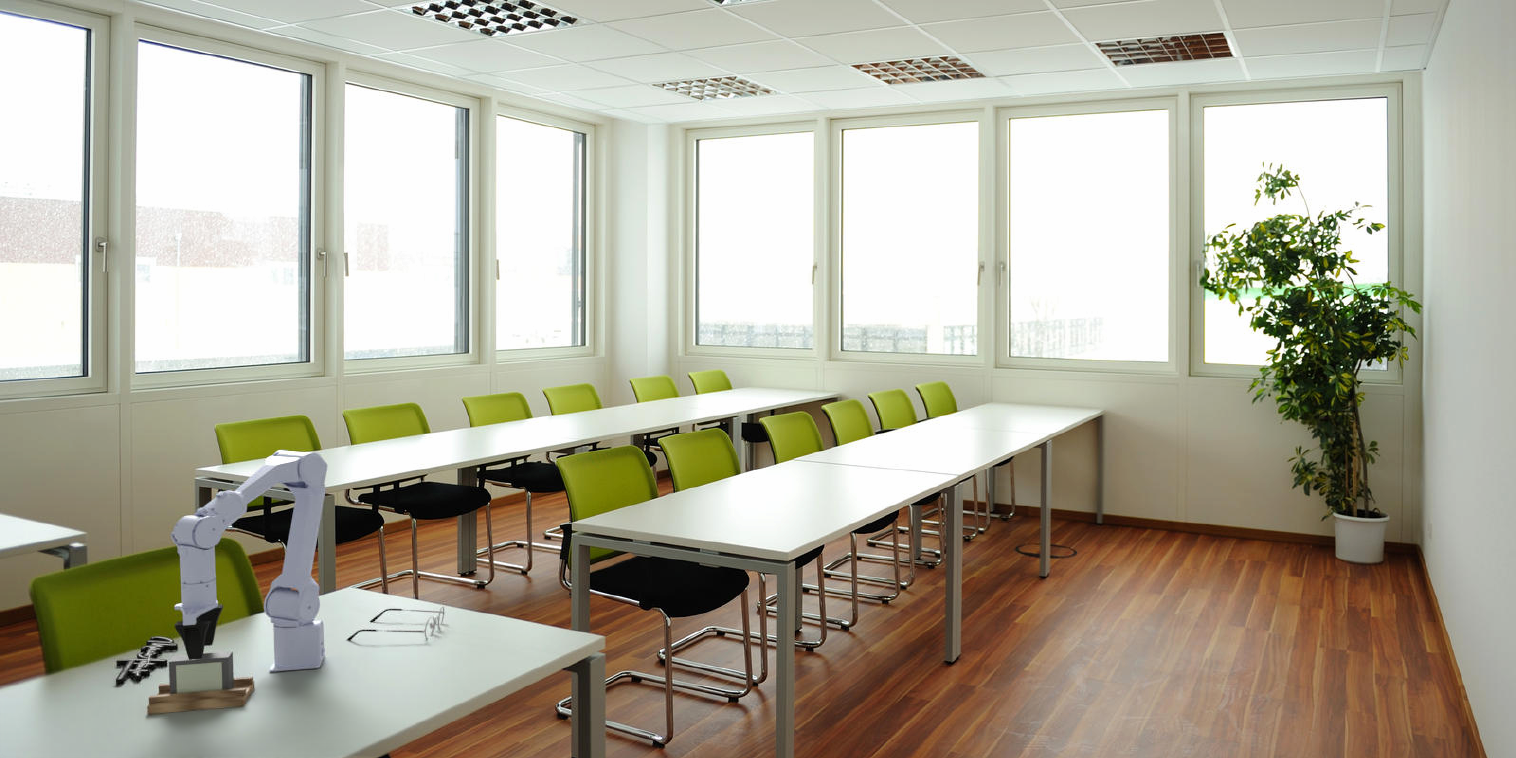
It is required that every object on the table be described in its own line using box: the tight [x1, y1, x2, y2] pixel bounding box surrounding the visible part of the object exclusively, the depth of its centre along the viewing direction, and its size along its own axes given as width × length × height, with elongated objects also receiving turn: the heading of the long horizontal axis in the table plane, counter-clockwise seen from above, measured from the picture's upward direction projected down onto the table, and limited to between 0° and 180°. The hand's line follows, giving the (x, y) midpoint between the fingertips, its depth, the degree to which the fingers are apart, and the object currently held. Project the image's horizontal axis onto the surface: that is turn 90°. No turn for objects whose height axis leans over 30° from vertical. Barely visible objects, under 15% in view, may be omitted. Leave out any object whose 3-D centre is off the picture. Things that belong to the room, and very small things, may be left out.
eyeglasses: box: [346, 606, 446, 641], centre depth 236 cm, size 16×19×5 cm
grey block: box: [168, 650, 235, 694], centre depth 193 cm, size 10×4×7 cm, turn 105°
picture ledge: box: [146, 676, 255, 715], centre depth 194 cm, size 16×9×3 cm, turn 105°
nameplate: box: [115, 635, 179, 686], centre depth 215 cm, size 28×2×10 cm
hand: (201, 651), depth 193 cm, fingers open, 7 cm apart
